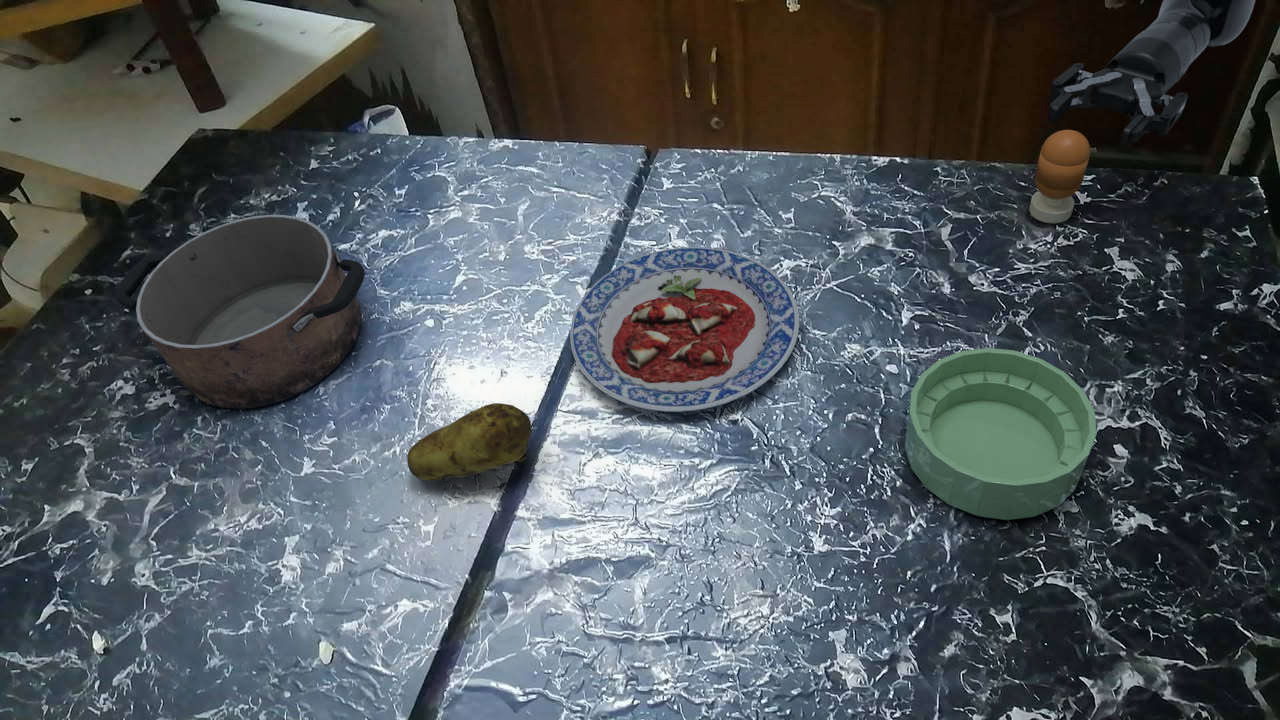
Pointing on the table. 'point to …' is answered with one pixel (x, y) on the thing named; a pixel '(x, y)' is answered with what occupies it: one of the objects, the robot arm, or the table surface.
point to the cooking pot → (249, 309)
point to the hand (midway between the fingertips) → (1088, 127)
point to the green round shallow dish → (998, 433)
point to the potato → (472, 444)
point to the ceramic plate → (684, 329)
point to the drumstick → (1059, 175)
